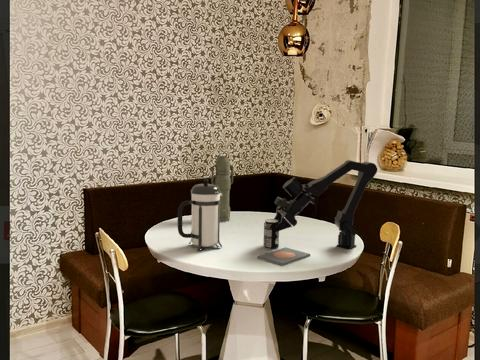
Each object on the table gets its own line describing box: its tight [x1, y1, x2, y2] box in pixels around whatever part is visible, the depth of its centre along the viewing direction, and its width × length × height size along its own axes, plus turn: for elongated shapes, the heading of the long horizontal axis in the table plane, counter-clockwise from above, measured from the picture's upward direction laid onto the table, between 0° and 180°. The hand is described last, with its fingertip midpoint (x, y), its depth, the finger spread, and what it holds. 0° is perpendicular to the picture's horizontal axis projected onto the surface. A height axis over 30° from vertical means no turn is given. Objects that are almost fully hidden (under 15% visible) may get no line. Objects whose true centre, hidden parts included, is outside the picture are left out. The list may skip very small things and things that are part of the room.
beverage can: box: [263, 218, 280, 250], centre depth 201 cm, size 7×7×12 cm
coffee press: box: [177, 178, 223, 251], centre depth 197 cm, size 17×16×30 cm
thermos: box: [211, 155, 234, 222], centre depth 249 cm, size 9×12×35 cm
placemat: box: [257, 247, 311, 267], centre depth 187 cm, size 13×18×1 cm
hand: (272, 228), depth 200 cm, fingers open, 9 cm apart
